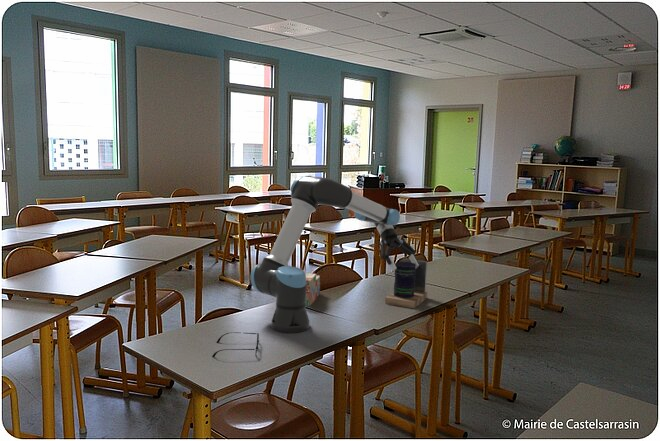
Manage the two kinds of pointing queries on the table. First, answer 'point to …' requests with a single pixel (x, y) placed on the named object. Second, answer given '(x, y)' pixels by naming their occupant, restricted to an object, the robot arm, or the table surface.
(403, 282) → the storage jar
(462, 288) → the table surface
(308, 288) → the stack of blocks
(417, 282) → the bookend
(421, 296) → the slatted wooden block
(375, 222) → the robot arm
